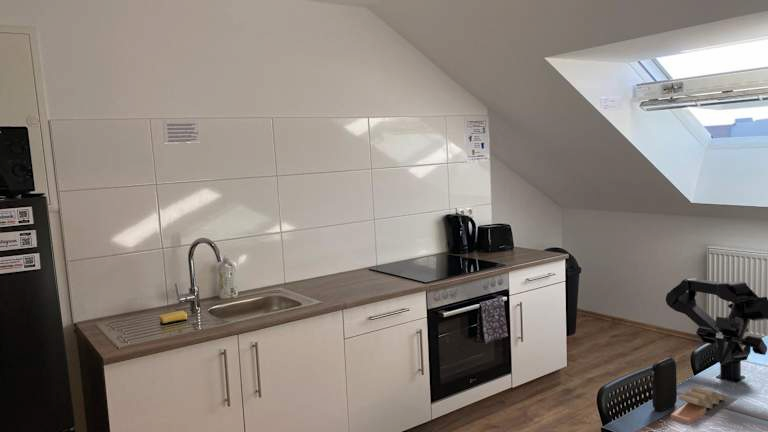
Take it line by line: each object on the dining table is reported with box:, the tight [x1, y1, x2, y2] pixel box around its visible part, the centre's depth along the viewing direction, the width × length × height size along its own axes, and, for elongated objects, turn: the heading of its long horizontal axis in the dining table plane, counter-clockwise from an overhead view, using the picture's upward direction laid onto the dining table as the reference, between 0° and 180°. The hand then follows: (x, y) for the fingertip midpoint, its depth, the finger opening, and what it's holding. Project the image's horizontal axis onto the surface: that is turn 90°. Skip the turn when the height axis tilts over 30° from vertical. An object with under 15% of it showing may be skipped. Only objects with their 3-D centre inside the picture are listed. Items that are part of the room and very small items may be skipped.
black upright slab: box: [650, 357, 678, 412], centre depth 173 cm, size 11×3×15 cm, turn 123°
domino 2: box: [670, 402, 706, 425], centre depth 167 cm, size 2×5×10 cm
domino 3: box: [685, 389, 720, 405], centre depth 172 cm, size 2×5×10 cm
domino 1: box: [678, 393, 713, 409], centre depth 170 cm, size 2×5×10 cm
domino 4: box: [692, 386, 727, 401], centre depth 175 cm, size 2×5×10 cm
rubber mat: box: [679, 395, 738, 417], centre depth 175 cm, size 17×9×1 cm, turn 127°
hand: (721, 363), depth 180 cm, fingers closed
